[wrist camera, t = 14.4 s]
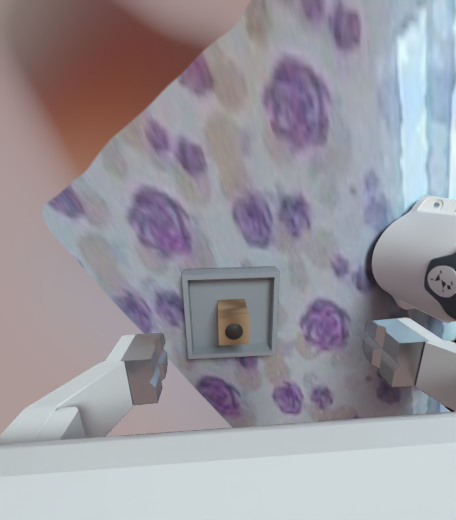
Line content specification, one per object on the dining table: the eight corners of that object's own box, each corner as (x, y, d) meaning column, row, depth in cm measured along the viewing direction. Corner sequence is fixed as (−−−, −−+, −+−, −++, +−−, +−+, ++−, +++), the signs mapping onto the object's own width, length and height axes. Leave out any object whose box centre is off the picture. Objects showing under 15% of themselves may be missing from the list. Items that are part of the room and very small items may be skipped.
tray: (275, 266, 39) (280, 272, 36) (272, 344, 43) (276, 354, 40) (184, 269, 38) (181, 275, 35) (190, 347, 42) (188, 359, 40)
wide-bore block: (244, 298, 39) (249, 317, 34) (244, 322, 41) (249, 344, 35) (217, 299, 39) (218, 318, 33) (218, 323, 40) (219, 345, 35)
